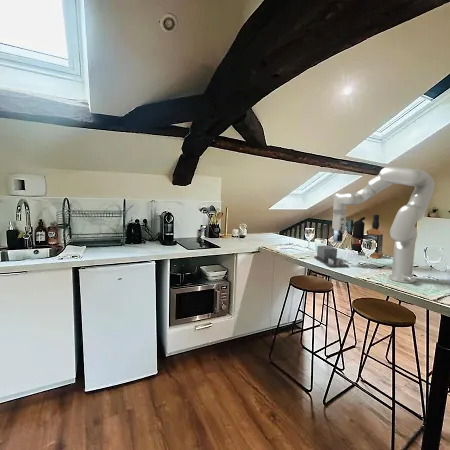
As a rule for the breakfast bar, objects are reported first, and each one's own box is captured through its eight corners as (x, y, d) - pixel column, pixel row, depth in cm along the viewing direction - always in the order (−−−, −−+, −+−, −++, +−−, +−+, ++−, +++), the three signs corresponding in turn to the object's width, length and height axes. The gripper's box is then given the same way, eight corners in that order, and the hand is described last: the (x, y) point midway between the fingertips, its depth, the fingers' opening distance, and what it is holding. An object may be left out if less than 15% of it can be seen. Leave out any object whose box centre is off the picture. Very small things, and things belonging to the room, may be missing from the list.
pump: (343, 242, 177) (343, 229, 176) (335, 242, 177) (336, 229, 176) (339, 241, 182) (340, 228, 181) (332, 241, 182) (332, 228, 181)
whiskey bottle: (369, 254, 216) (371, 214, 212) (382, 256, 209) (386, 214, 205) (363, 256, 209) (366, 214, 205) (377, 259, 202) (381, 215, 198)
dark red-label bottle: (367, 255, 213) (370, 216, 209) (357, 256, 210) (360, 217, 207) (354, 251, 226) (356, 215, 222) (345, 252, 223) (347, 215, 220)
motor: (348, 267, 178) (348, 253, 177) (329, 267, 177) (330, 253, 176) (328, 257, 206) (329, 244, 205) (312, 257, 206) (313, 244, 205)
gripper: (351, 213, 169) (349, 242, 171) (338, 211, 186) (337, 238, 188) (339, 213, 169) (338, 242, 171) (327, 211, 185) (326, 238, 187)
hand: (337, 240), depth 179 cm, fingers closed on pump, 5 cm apart
